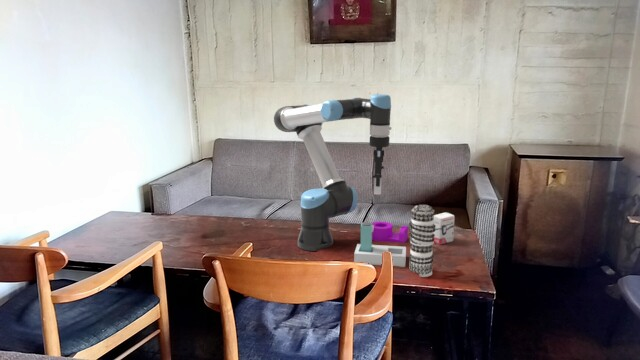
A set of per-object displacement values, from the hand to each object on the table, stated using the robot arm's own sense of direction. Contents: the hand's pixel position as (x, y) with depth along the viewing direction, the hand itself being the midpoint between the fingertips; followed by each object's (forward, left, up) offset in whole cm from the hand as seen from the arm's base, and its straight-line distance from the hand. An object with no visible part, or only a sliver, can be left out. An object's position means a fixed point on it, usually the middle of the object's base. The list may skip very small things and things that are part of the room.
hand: (377, 189), depth 185 cm
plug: (-3, -9, -25) cm, 27 cm away
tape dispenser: (+3, +17, -27) cm, 32 cm away
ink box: (+27, +18, -27) cm, 42 cm away
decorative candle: (+17, -16, -27) cm, 36 cm away
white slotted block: (+2, -9, -26) cm, 28 cm away
